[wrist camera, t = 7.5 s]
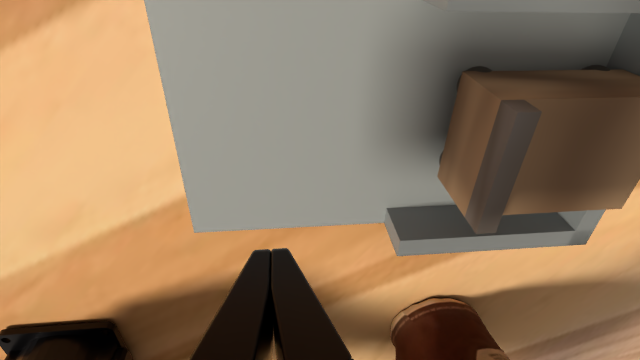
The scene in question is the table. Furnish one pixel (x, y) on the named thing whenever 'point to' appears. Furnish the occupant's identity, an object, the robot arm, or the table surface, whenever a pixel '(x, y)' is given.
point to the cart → (541, 142)
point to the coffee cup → (442, 333)
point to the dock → (359, 107)
